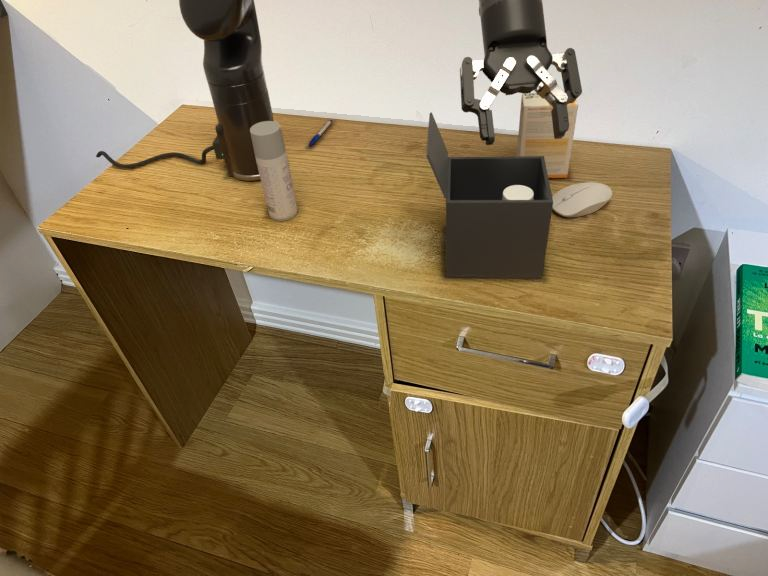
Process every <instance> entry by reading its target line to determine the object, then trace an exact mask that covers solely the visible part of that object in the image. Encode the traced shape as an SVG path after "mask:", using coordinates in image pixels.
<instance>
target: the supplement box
mask: <svg viewBox="0 0 768 576" xmlns="http://www.w3.org/2000/svg"><path fill="white" fill-rule="evenodd" d="M520 99H521V100H520V110H519V123H518V135H517V147H516V156H544V159H545V164H546V169H547V174H548V179H567V178H568V175H569V170H570V162H571V155H572V150H573V143H574V135H575V130H576V123H577V116H578V110H579V103H578V101H577V99H576V100H575V101H574V102H573V103H569V104H567V110H568V119H569V128H568V130H567V131H566V132H565V135H564V136H563V137H562V138H561V139H555V138H554V132H553V123H552V114H551V110H552V109H553V107H552V106H551V105H550V104H549V103H548V102H547V101H546V100H545V99H544V98H541V97H540V96H539V95H538V94H537V93H536V92H531V93H525V94H524V93H521V98H520Z"/></svg>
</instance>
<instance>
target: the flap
mask: <svg viewBox="0 0 768 576" xmlns="http://www.w3.org/2000/svg"><path fill="white" fill-rule="evenodd" d="M425 156H426V158H427V161H428V163H429V165H430V168H431V171H432V172H433V174H434V177H435V180H436V181H437V184H438V186H439V189H440V191H441V193H442V195H443V198H444V199H446V197H447V173H448V157H449V151H448V149H447V147H446V144H445V141H444V138H443V136H442V134H441V132H440V129H439V127H438V124H437V121H436V119H435V116H434V114H433V112H429V117H428V129H427V142H426V153H425Z"/></svg>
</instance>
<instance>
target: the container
mask: <svg viewBox="0 0 768 576" xmlns="http://www.w3.org/2000/svg"><path fill="white" fill-rule="evenodd" d="M250 134H251V139H252V143H253V148H254V153H255V158H256V162H257V166H258V171H259V175H260V179H261V180H260V183H261V186H262V191H263V195H264V200H265V203H266V208H267V211H268V215H269V218H270V219H272V220H274V221H276V222H285V221H289V220H291V219H293V218H295V217H296V216H297V214H298V212H299V209H298V203H297V199H296V194H295V189H294V183H293V179H292V173H291V169H290V164H289V163H290V162H289V158H288V154H287V150H286V146H285V141H284V136H283V131H282V129H281V124H280V123H278V122H277V121H275V120H274V121H263V122H259V123H257V124H255V125H253V126H252V127H251V128H250Z"/></svg>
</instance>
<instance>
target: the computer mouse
mask: <svg viewBox="0 0 768 576" xmlns="http://www.w3.org/2000/svg"><path fill="white" fill-rule="evenodd" d="M612 197H613V191H612V189H611V187H610V186H608V185H607V184H604V183H602V182H596V181H586V182H585V181H584V182H578V183H573V184H571V185H567V186H565V187H563V188H562V189H560V190H558V191H557V192H556V193H554V194H552V198H553V207H552V211H553V212H555V213H556V214H557V215H559V216H561V217H565V218H578V217H579V218H580V217H583V216H587V215H590V214H593V213H595V212H598V211H599V210H600V209H602V208H603V207H604V206H605V205H606V204H607V203H608V202H609V201H610V200H611V199H612Z"/></svg>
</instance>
